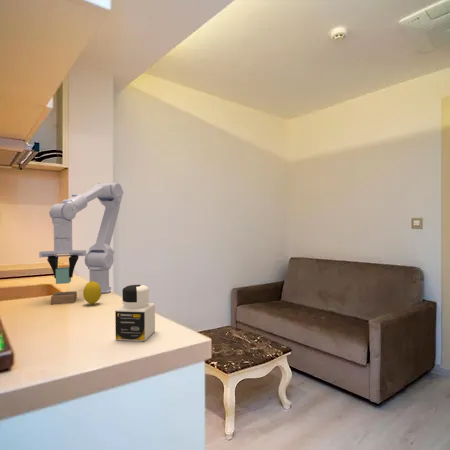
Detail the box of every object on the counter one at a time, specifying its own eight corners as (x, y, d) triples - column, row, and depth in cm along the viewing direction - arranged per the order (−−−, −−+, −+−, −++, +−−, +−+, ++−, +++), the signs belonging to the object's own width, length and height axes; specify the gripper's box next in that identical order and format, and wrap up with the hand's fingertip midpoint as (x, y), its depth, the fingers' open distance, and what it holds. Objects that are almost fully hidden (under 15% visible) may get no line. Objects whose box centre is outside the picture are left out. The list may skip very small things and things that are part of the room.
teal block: (58, 281, 116) (58, 267, 116) (71, 281, 117) (70, 267, 117) (55, 283, 112) (55, 269, 112) (68, 283, 113) (68, 268, 113)
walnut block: (55, 301, 117) (55, 292, 117) (76, 299, 119) (76, 291, 119) (51, 305, 110) (51, 296, 110) (74, 304, 112) (73, 295, 112)
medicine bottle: (115, 340, 76) (114, 288, 76) (128, 330, 83) (127, 282, 83) (144, 341, 75) (144, 289, 75) (155, 331, 82) (155, 283, 82)
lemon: (97, 306, 107) (97, 282, 107) (80, 306, 107) (80, 282, 107) (103, 302, 113) (103, 279, 113) (87, 302, 113) (87, 279, 113)
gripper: (36, 239, 108) (36, 280, 109) (84, 238, 112) (84, 278, 112) (42, 238, 115) (42, 277, 115) (86, 237, 119) (87, 275, 119)
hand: (63, 277), depth 114 cm, fingers closed on teal block, 4 cm apart
